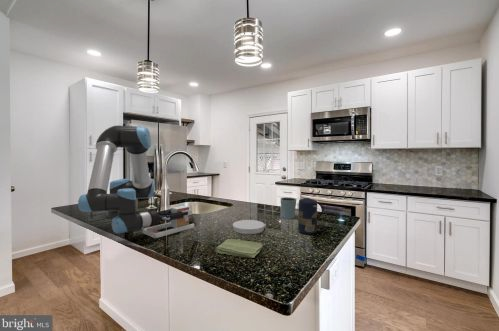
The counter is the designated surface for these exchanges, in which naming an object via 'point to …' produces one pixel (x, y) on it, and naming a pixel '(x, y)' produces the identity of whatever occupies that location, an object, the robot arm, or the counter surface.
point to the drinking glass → (288, 208)
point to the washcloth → (239, 248)
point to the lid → (248, 226)
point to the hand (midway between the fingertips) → (188, 210)
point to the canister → (307, 216)
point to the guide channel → (167, 232)
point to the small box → (181, 221)
